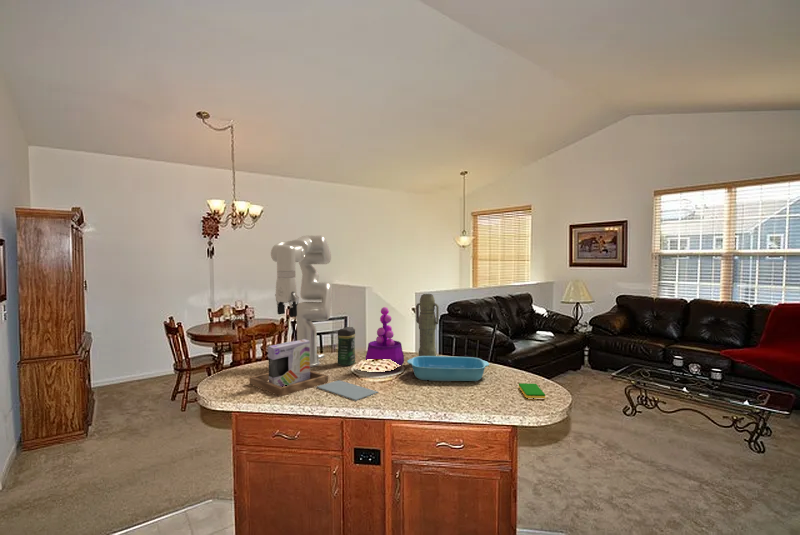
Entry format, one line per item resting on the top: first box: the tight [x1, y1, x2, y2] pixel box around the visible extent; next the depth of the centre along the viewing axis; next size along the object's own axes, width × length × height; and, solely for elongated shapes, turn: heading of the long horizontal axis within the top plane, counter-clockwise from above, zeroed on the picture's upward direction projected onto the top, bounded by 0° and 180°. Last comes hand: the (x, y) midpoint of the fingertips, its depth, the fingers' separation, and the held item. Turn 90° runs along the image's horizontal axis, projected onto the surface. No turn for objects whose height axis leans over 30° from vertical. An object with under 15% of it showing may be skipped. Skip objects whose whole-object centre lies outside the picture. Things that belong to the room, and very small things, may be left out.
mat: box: [316, 379, 379, 402], centre depth 173 cm, size 12×24×1 cm, turn 48°
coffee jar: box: [337, 326, 356, 367], centre depth 215 cm, size 10×8×19 cm
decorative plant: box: [365, 306, 405, 366], centre depth 205 cm, size 19×18×30 cm
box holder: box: [249, 370, 329, 397], centre depth 183 cm, size 24×24×3 cm
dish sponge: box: [518, 382, 546, 399], centre depth 169 cm, size 7×14×2 cm, turn 177°
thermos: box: [415, 293, 440, 356], centre depth 217 cm, size 9×12×35 cm
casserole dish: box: [406, 355, 490, 382], centre depth 193 cm, size 37×22×7 cm, turn 86°
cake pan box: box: [267, 339, 311, 387], centre depth 183 cm, size 19×5×18 cm, turn 136°
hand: (287, 315), depth 180 cm, fingers open, 9 cm apart
